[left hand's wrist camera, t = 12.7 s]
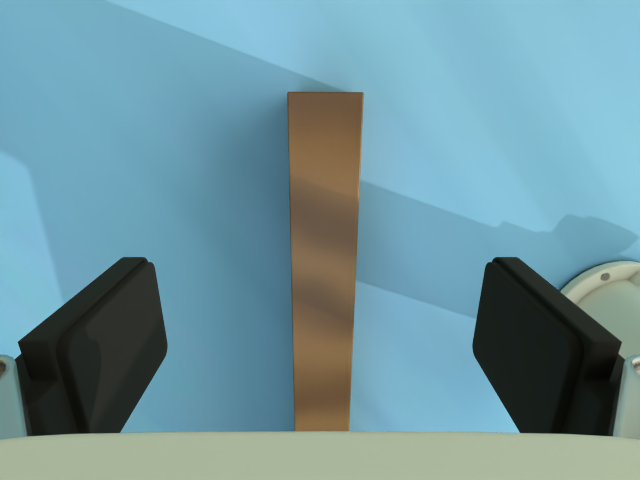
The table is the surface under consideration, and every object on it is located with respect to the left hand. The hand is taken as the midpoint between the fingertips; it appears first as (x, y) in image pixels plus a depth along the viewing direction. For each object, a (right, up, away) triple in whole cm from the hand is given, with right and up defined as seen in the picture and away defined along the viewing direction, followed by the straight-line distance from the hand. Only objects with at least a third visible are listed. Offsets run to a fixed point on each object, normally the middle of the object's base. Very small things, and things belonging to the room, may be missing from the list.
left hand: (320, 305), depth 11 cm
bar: (0, -22, +34) cm, 41 cm away
